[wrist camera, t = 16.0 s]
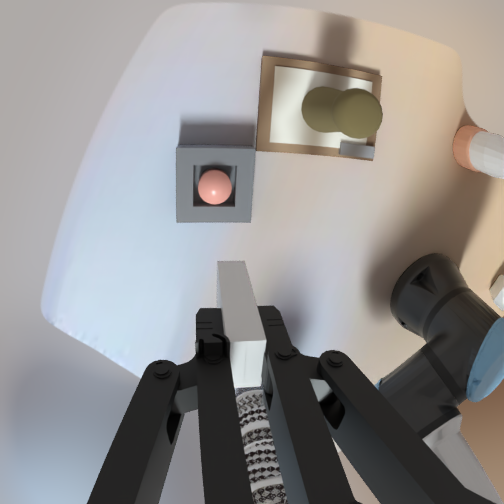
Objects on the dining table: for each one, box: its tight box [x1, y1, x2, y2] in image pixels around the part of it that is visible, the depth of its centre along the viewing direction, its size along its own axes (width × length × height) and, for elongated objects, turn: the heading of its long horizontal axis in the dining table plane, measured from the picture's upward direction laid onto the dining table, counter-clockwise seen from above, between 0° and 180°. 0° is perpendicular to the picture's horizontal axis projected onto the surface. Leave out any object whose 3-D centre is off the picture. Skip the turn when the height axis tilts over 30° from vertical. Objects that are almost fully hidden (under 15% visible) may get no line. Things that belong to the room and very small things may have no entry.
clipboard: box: [256, 56, 382, 161], centre depth 37 cm, size 16×12×1 cm
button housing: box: [176, 145, 256, 223], centre depth 39 cm, size 9×9×3 cm
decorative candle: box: [236, 390, 288, 504], centre depth 49 cm, size 9×9×25 cm
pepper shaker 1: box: [301, 86, 383, 139], centre depth 32 cm, size 6×6×11 cm
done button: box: [198, 168, 232, 204], centre depth 37 cm, size 4×4×2 cm
